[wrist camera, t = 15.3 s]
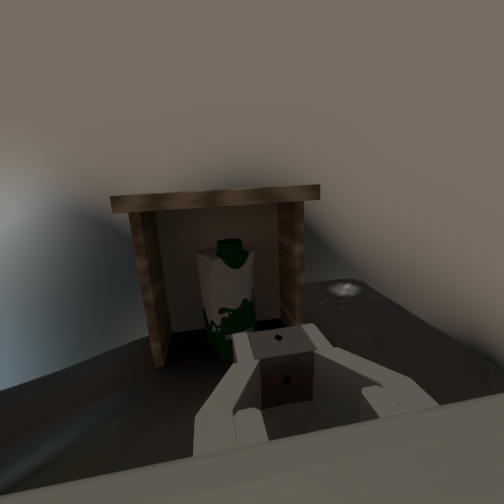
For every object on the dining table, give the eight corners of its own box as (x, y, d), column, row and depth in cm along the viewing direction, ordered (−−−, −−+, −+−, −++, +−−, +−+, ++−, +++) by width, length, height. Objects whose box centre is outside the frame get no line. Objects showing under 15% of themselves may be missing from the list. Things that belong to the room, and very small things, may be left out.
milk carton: (221, 367, 42) (209, 247, 37) (200, 341, 49) (188, 239, 44) (265, 347, 46) (259, 238, 42) (239, 326, 54) (233, 232, 49)
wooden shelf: (146, 395, 37) (109, 196, 30) (165, 329, 54) (145, 193, 47) (318, 366, 41) (320, 184, 34) (285, 313, 58) (281, 185, 51)
